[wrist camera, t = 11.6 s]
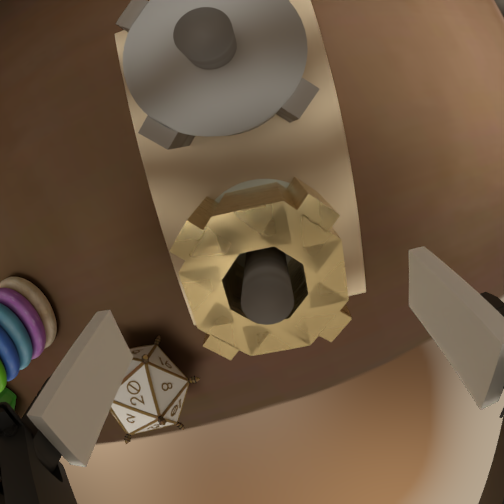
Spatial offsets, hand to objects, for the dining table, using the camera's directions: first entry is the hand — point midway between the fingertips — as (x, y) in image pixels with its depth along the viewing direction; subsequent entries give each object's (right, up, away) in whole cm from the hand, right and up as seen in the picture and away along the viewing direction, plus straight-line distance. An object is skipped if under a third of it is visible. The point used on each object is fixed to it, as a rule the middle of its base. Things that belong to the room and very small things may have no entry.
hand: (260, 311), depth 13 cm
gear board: (-1, +9, +8) cm, 12 cm away
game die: (-9, -7, +14) cm, 18 cm away
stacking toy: (-22, -3, +13) cm, 26 cm away
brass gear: (0, +3, +8) cm, 9 cm away
